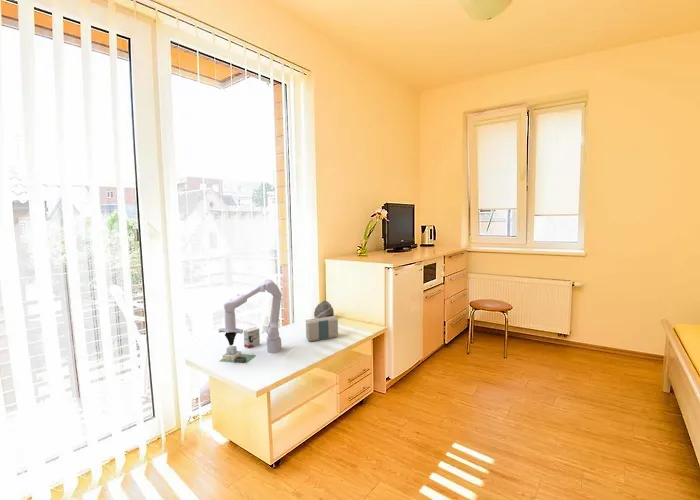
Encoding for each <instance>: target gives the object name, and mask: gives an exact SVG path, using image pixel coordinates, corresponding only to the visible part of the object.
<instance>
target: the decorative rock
mask: <svg viewBox="0 0 700 500" xmlns="http://www.w3.org/2000/svg"><path fill="white" fill-rule="evenodd" d="M331 307H332V308H331ZM329 308H330V309H329ZM328 309H329V310H328ZM326 310H327V311H326ZM325 311H326V312H325ZM334 311H335V310H334V308H333V306H332V305H331V303H330V302H329V301H327V300H322V301H321V302H320V303H318V304H317V305H316V307H315V309H314V312H313V317H314V318H316V317H317V316H318V317H317V318H323V317H330V316H334V313H335V312H334ZM323 312H324V313H323ZM322 313H323V314H322ZM320 314H321V315H320ZM319 315H320V316H319ZM334 317H335V316H334Z"/></svg>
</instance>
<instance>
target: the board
mask: <svg viewBox="0 0 700 500" xmlns="http://www.w3.org/2000/svg"><path fill="white" fill-rule="evenodd" d="M239 357H246V361H245V362H244V363H243V364H248V363H250V362H251V361H252V360H253V359H254V358H255V357H257V355H256V354H245V353H244V354H243V353H241V356H239ZM219 362H220V363H221V362H223V363H231V364H232V363H233V364H235V363H234V360H226V359H223V358H222V359H219V361H218V363H219Z"/></svg>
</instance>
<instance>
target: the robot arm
mask: <svg viewBox="0 0 700 500" xmlns="http://www.w3.org/2000/svg"><path fill="white" fill-rule="evenodd" d="M258 293H269V294H271V296H272V302H271V310H270V317H269V322H268V326H267V328H266V333H267V337H266V346H267V347H266V350H267V353H269V354H276V353H279V352H280V350H281V349H282V338H281V337H280V332H279V318H280V311H281V304H282V303H281V302H282V292H281V290H280V288H279V286H278V284H276V283H275V282H274V281H273V280H272V279H266V280H264V281H262V282H260V283H258V284H257V285H256V286H253V287H252V288H251V289H249V290H247V292H245V293H238V294H237V295H236V296H235V297H232V298H230V299H229V300H226V301H225V302H224V303H223V304H224V305H223V308H224V324H225V325H224V327H223V328H222V327H220V328H218V333H225V334H224V336H225V338H226V339H227V341H228V345H229V346H234V342H235V338H236V336H237V335H238V334H244V330H243V329H244V328H237V327H236V326H237V325H236V324H237V323H236V313H235V310H236V308H239V307H241V306H242V305H243V304H245V303H247V301H248V299H249V298H251V297H253V296H255V295H257V294H258Z"/></svg>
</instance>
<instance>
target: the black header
mask: <svg viewBox="0 0 700 500" xmlns="http://www.w3.org/2000/svg"><path fill="white" fill-rule="evenodd" d="M245 361H246V357H238V356H237V357H236V358H235V359H234V363H233V364H235V363H236V364H245V363H244V362H245Z"/></svg>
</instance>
